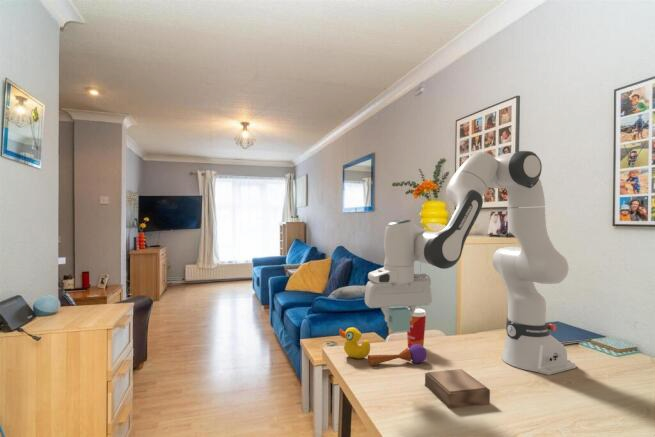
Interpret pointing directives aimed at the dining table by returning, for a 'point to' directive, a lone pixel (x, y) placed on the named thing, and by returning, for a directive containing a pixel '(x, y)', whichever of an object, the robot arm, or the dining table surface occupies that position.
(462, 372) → the walnut base
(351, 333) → the duckling
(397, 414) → the dining table surface
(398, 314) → the teal block
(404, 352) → the kendama
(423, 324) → the paper cup
